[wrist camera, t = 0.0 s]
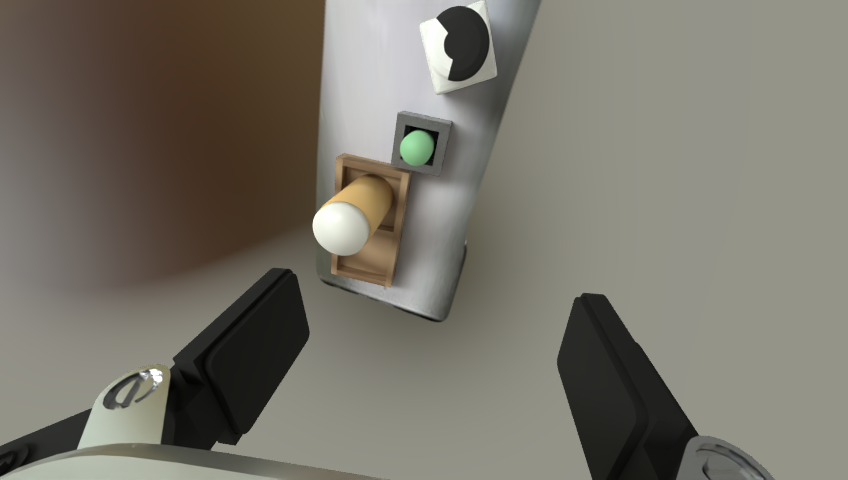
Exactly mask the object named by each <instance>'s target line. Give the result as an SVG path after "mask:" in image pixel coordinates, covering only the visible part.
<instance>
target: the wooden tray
mask: <svg viewBox="0 0 848 480" xmlns="http://www.w3.org/2000/svg"><path fill="white" fill-rule="evenodd" d="M364 174H376V175H379V176H381V177H383V178H384V179H385V180H386V181H388V183H389V184H390V186H391V187H392V190H393V193H394V201H393V205H392V207H391V208H390V210H389V211H388V213H387V214H386V216H385V217H384V219H383V220H382V222H381V223H380V225H379V226H378V228H377V229H376V231H375V232H374V234H373V235H372V237H371V238H370V240H369V241H368V243H367V244H366V245H365V246H364V247H362V249H361V250H360V251H358V252H357V253H355V254H352V255H348V256H341V255H337V254H334V253H332V263H331V273H332V274H336V275H340V276H344V277H348V278H352V279H357V280H361V281H365V282H369V283H373V284H377V285H382V286H386V287H391V285H392V282H393V280H394V276H395V270H396V264H397V258H398V252H399V247H400V241H401V235H402V229H403V223H404V217H405V211H406V205H407V200H408V194H409V188H410V182H411V176H412V170H408V169H403V168H399V167H394V166H391V164H389V163H385V162H380V161H376V160H371V159H367V158H363V157H358V156H354V155H349V154H345V153H344V154H342V155H340V156H338V157H336V174H335V195H337V194H338V193H339V192H341V191H342V190H343V189H344V188H346V187H347V186H348V185H349V184H351V183H352V182H353V181H354V180H356V179H357V178H358V177H359V176H361V175H364Z"/></svg>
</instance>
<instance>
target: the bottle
mask: <svg viewBox="0 0 848 480" xmlns="http://www.w3.org/2000/svg"><path fill="white" fill-rule="evenodd" d="M393 201H394V193H393V190H392V187H391V186H390V184H389V183H388V181H386V180H385V179H384V178H383V177H381V176H379V175H376V174H364V175H361V176H359V177H358V178H357V179H356V180H354V181H353V182H352V183H351V184H349V185H348V186H347V187H346V188H344V189H343V190H342V191H341V192H339V193H338V194H337V195H335V196H334V197H333V198H332V199H330V200H329V201H328V202H327V203H325V204H324V205H323V206H322V207H321V209H320V210H319V211H318V213H317V214H316V215H315V217H314V220H313V232H314V235H315V237H316V239H317V241H318V242H319V243H320V244H321V245H322V246H323V247H324V248H325V249H326V250H328V251H329V252H331V253H334V254H337V255H341V256H348V255H352V254H355V253H357V252H358V251H360V250H361V249H362V247H364V246H365V245H366V244H367V243H368V241H369V240H370V238H371V237H372V235H373V234H374V232H375V231H376V229H377V228H378V226H379V225H380V223H381V222H382V220H383V219H384V217H385V216H386V214H387V213H388V211H389V210H390V208H391V207H392V205H393Z"/></svg>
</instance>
